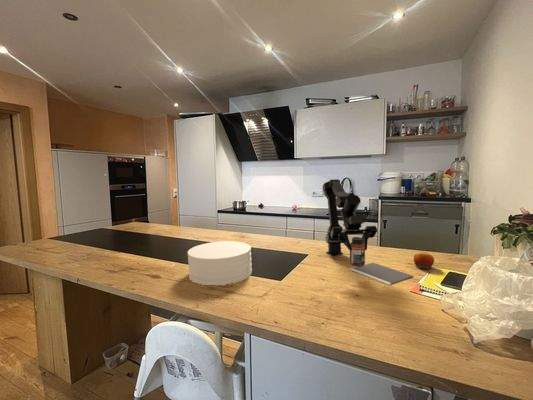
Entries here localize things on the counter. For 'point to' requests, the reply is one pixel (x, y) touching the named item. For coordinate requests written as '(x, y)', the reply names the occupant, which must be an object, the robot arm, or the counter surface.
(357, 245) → the supplement bottle
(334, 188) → the robot arm
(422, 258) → the fruit
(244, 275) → the plate stack
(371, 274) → the mat
